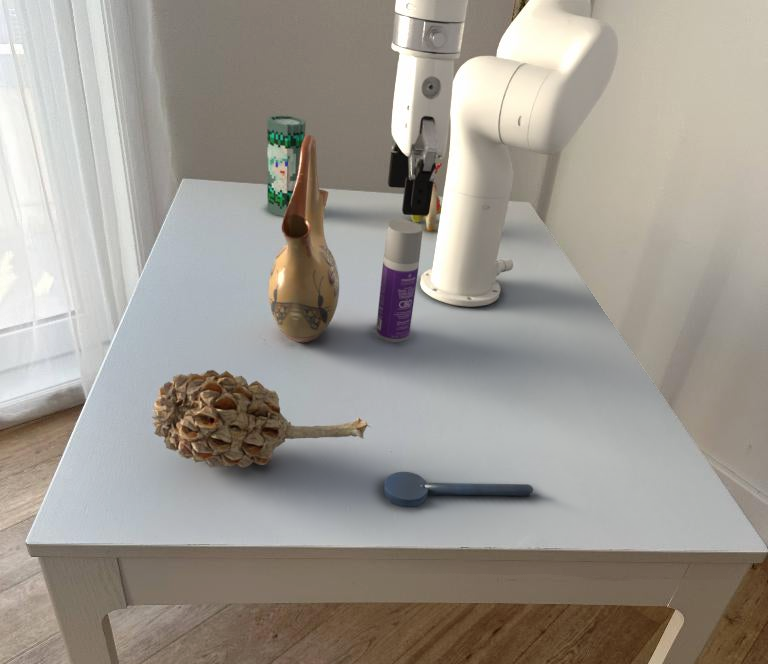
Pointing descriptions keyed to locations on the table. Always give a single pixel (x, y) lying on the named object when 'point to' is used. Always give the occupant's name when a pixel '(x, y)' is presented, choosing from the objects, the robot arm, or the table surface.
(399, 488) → the spoon
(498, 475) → the table surface
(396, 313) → the container
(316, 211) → the ceramic vessel
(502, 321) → the table surface
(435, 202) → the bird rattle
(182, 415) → the pine cone
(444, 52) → the robot arm
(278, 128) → the can
